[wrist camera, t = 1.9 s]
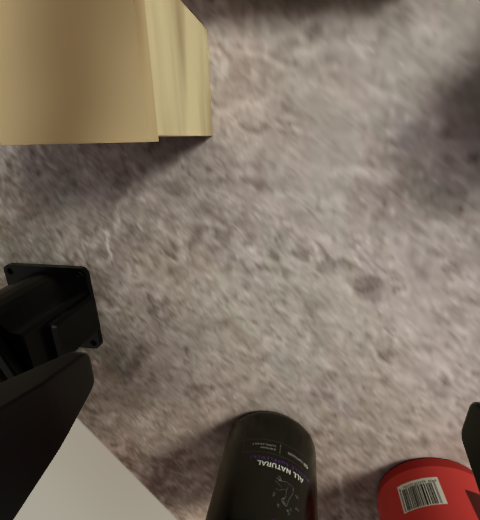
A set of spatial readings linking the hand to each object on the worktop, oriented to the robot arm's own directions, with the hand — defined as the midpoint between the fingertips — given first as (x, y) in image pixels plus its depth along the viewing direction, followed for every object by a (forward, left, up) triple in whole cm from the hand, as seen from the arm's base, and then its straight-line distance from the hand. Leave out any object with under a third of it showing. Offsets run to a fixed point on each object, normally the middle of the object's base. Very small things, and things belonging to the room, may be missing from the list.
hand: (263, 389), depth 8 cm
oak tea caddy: (-7, +8, -13) cm, 17 cm away
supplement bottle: (-1, -17, -13) cm, 21 cm away
